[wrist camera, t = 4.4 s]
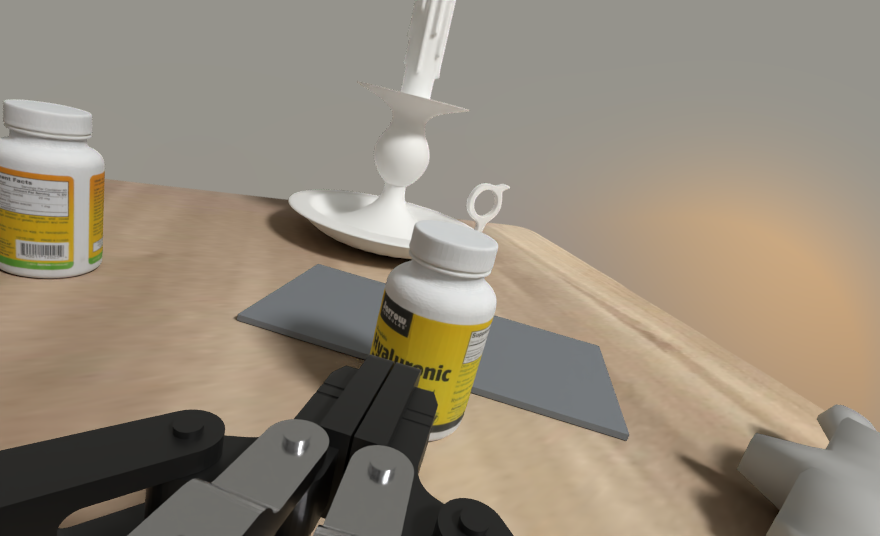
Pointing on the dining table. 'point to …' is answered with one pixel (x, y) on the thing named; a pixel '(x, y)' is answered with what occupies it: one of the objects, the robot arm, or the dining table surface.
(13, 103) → the supplement bottle
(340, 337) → the mat
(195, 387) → the dining table surface
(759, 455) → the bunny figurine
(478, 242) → the supplement bottle
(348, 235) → the candlestick
